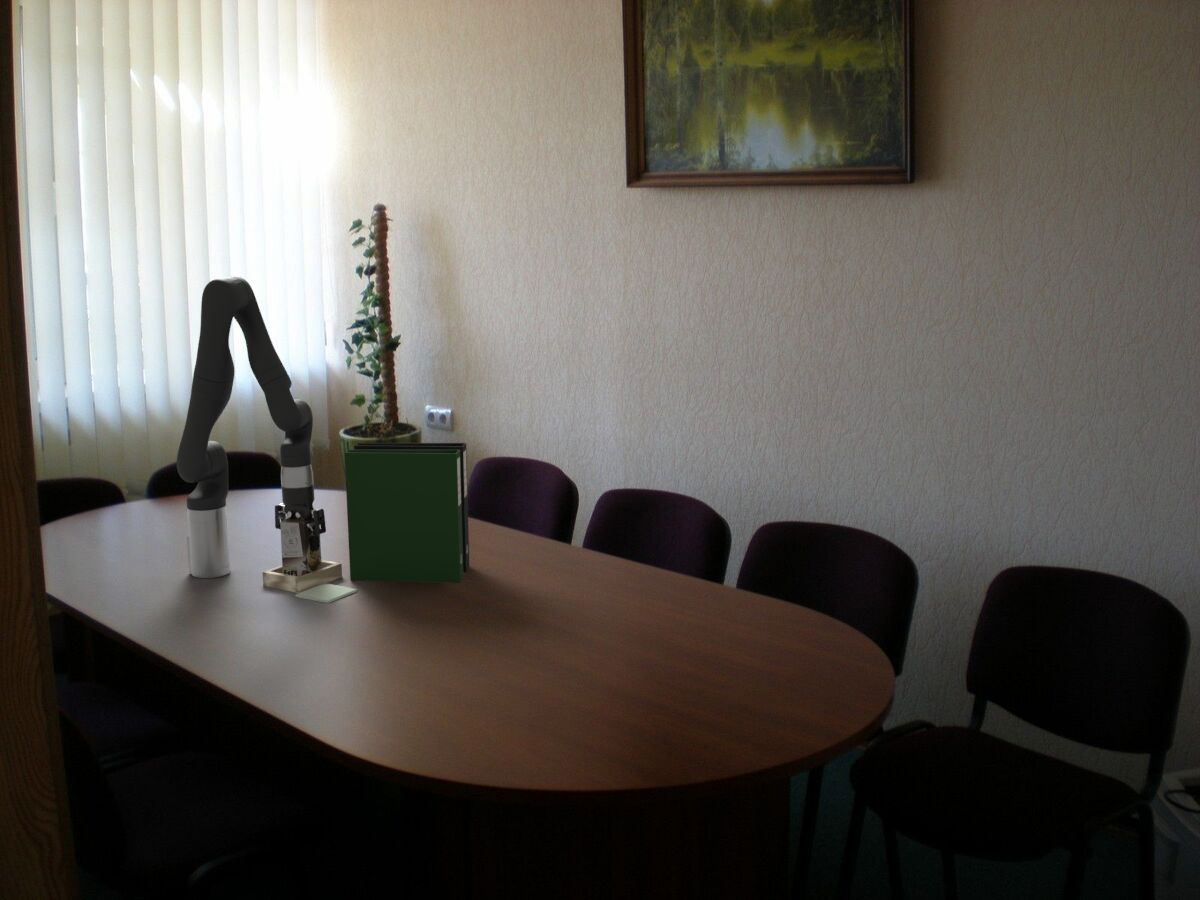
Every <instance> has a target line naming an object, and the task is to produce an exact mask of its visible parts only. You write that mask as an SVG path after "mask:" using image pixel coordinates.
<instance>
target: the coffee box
mask: <svg viewBox="0 0 1200 900" xmlns="http://www.w3.org/2000/svg"><path fill="white" fill-rule="evenodd" d="M310 523H312V518H311V519H309V520H306V521H302V520H298V519H285V520H283V521H281V520H280V526H281V530H280V542H281V544H280V545H281V563H282V564H281V565H282V568H283V574H286V575H292V576H297V577H300V576H303V575H305V574H308V573H311V572H314V571H316V570H319V569H322V564H321V560H322V549H321V544H320V547H319V549H318V550H317V551H311V550H310V534H309V532H308V528H307V524H310ZM312 529H313V528H312ZM313 531H314V529H313ZM319 541H320V542H321V534H320V535H319Z"/></svg>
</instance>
